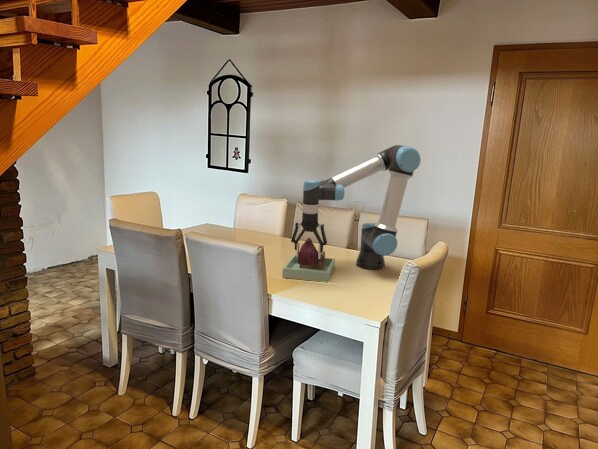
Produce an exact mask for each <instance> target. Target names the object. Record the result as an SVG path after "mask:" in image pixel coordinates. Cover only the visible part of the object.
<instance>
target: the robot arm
mask: <svg viewBox="0 0 598 449" xmlns="http://www.w3.org/2000/svg"><path fill="white" fill-rule="evenodd" d="M420 164H421V155H420V153H419V151H418V150H417V149H416V148H415V147H412V146H409V145H400V144H395V145H392V146H390V147H388V148H386V149H384V150H381V151H380V152H378V153H376V154H375V156H374V157H372V158H370V159H368V160H366V161H363V162H361V163H360V164H357V165H355V166H353V167H351V168H348V169H347V170H345V171H343V172H340V173H338V174H336V175H334V176H332V177H330V178H327V179H326V180H325V179H323V180H317V179H305V180H304V182H303V190H302V191H303V192H302V194H303V196H302V216H301V220H302V221H301V222H299V221H297V222H295V224H294V225H295V227H294V231H293V234H292V237H291V240H290V242H291V243H293V244H294V250H295V251H296V254H295V255H296V257H298V255H299V252H300V242H299V241H300V240H301V238H302V237H303V236H304V234H305V232H306V233H307V232H309V233H313V234H314V235H315V238H316V240H317V241H318V243H319V245H318V249H317V251H318V259H320V257H321V252H324V246H326V245H328V241H327V240H328V239H327V236H326V232H325V224H324V223H322V224H320V223H319V203H320V202H319V201H343V200H344V198H345V188H347V187H349V186H351V185H354V184H356V183H358V182H360V181H362V180H364V179H367V178H368V177H370V176H373V175H375V174H377V173H379V172H381V171H382V172H385V171H388V172H389V174H390V177H389V180H388V185H387V189H386V192H385V196H384V200H383V204H382V206H381V207H382V208H381V211H380V213H379V214H380V215H379V219H378V221H377V222H365V223H363V224H361V228H360V230H361V233H360V234H361V235H360V251H359V253H358V256H357V258H356V260H355V261H356V262H355V264H356V266H357V267H359V268H361V269H366V270H381V269H380V268H382V269H384V268H385V267H386V261H385V257H386V256H390V255H391V254H393V253H394V252H395V251H396V249H397V248H398V239H397V233H398V228H396V226H397V222H398V217H399V214H400V210H401V207H402V203H403V200H404V196H405V192H406V189H407V185H408V181H409V179H411V178H413V175H414V172H415V171H416V170H417V169H418V168H419V166H420ZM300 227H302V230H301V232H300V234H299V235H298V236H297V234H298V231H299V228H300ZM318 228H319V229H320V233H321V235H320V234H319V231H318ZM296 237H297V238H296ZM384 256H385V257H384ZM383 267H384V268H383Z"/></svg>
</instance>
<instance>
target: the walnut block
mask: <svg viewBox="0 0 598 449" xmlns="http://www.w3.org/2000/svg"><path fill="white" fill-rule="evenodd" d="M317 252H318V250H317ZM325 258H326V251H323V252H321V257H320V259H319V264H317V265H314V266H305V265H300V268H306V269H317V270H323V269H324V267H325Z"/></svg>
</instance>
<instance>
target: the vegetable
mask: <svg viewBox="0 0 598 449" xmlns="http://www.w3.org/2000/svg"><path fill="white" fill-rule="evenodd" d="M317 251H318V249H317V248H316V246H315V245H314V242H313V240H312V238H311V237H308V238H306V240H305V241H304V242H303V244H302V245H301V247H300V248H299V255H298V261H297V263H298V264H300V265H305V266H314V265H317V264H319V259H318V252H317Z"/></svg>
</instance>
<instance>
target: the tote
mask: <svg viewBox="0 0 598 449" xmlns="http://www.w3.org/2000/svg"><path fill="white" fill-rule="evenodd" d="M297 261H298V257H296V254H293V255H292V256H291V258H289V259H288V261H287V262H286V264H285V265H284V266H283V267H282V278H283V279H286V280H296V281H306V282H313V281H314V282H316V283H325V284H326V283H328V284H329V280H330V278H331V276H332V274H333V271H334V269H335V266H336V263H335V262H336V258H331V257H325V267H324V269H323V270H317V269H306V268H300V264H298V263H297Z"/></svg>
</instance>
